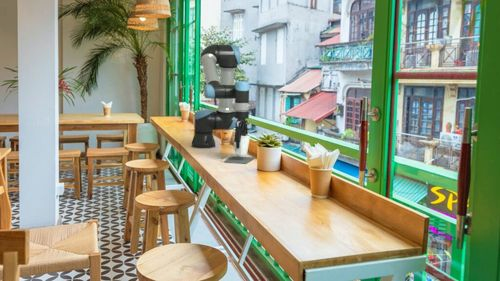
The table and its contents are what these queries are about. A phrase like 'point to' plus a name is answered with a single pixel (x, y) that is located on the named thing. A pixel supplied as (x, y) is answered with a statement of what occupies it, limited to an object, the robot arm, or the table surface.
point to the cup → (242, 144)
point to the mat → (239, 160)
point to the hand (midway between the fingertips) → (241, 152)
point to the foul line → (227, 158)
